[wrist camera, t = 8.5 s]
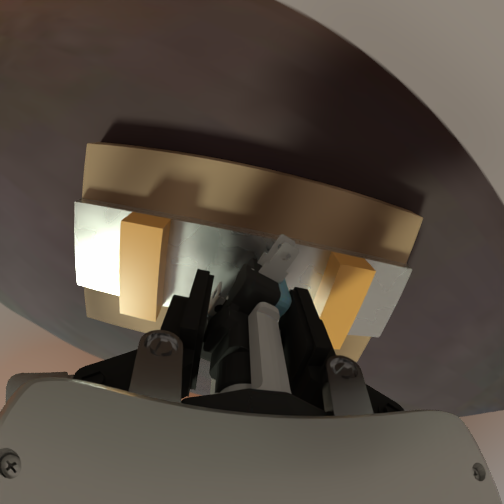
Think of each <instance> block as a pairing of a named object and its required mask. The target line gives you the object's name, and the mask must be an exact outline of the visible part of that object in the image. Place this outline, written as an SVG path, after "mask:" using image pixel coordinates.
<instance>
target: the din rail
mask: <svg viewBox="0 0 504 504" xmlns="http://www.w3.org/2000/svg"><path fill="white" fill-rule="evenodd" d="M132 212H136V213H142V214H147V215H153V216H158V217H163V218H169V219H171V224H170V232H169V240H168V248H167V258H166V268H165V278H164V290H163V304H162V306H165V307H169V305H170V302H171V300H172V297H173V295H179V296H184V297H189V295H190V291H191V288H192V285H193V282H194V278H195V275H196V272H197V269H201V270H206V271H210V275H214V281H213V286H212V292H211V295H212V293H213V292H214V290H215V288H216V287H217V285H218V284H219V282H222V289H221V294H220V296H221V297H223V298H225V296H226V295H227V293H228V292H229V290H230V289H231V287H232V286H233V284H234V282H235V279H236V276H237V274H238V272H239V271H240V269H241V268H242V266H243V265H244V264H245V263H248V262H249V260H250V259H251V258H255V259H256V260H258V261H259V259H260V258H261V256H262V255H263V253H264V252H266V253H268V252H269V250H270V249H271V247H272V246H273V244H274V243H275V241H276V240H277V239H278V237H279V236H280V235H276V234H271V233H266V232H261V231H257V230H252V229H247V228H242V227H237V226H232V225H227V224H222V223H217V222H212V221H206V220H201V219H196V218H191V217H186V216H180V215H175V214H170V213H164V212H159V211H153V210H148V209H142V208H137V207H131V206H125V205H120V204H114V203H108V202H102V201H96V200H90V199H84V198H82V199H79V200H77V201H75V219H74V230H75V261H76V275H77V284H78V285H81V286H85V287H88V288H92V289H95V290H99V291H103V292H107V293H110V294H114V295H118V296H119V245H120V225H121V220H122V219H124V218H125V217H126V216H128V215H129V214H130V213H132ZM289 238H290V237H289ZM291 239H292V240H294V241H295V245H294V247H296V248H298V249H299V254H298V255H297V257H296V258H295V259H294V261H293V262H292V264H291V265H290V266H289V268H288V269H287V270H286V272H288V275H287V276H286V278H285V280H286V283H287V287H288V290H290V289H292V290H293V289H294V288H295V287H299V288H305V289H308V291H309V293H310V295H311V298H312V300H313V301H314V299H315V296H316V293H317V291H318V288H319V285H320V283H321V280H322V277H323V274H324V271H325V269H326V266H327V263H328V260H329V257H330V254H331V251H332V252H337V253H341V254H346V255H350V256H355V257H359V258H364V259H365V260H366V261H367V262H368V263H369V264H370V265H371V266H372V267H373V268H374V269H375V271H376V273H375V275H374V278H373V280H372V282H371V285H370V287H369V289H368V292H367V294H366V296H365V298H364V301H363V303H362V305H361V307H360V309H359V312H358V314H357V316H356V318H355V320H354V322H353V324H352V326H351V328H350V330H349V332H348V334H347V335H356V336H369V337H380V335H381V333H382V331H383V329H384V327H385V325H386V324H387V322H388V320H389V318H390V316H391V314H392V312H393V310H394V308H395V306H396V304H397V302H398V300H399V298H400V296H401V294H402V291H403V289H404V287H405V285H406V283H407V280H408V278H409V276H410V274H411V271H412V269H411V268H410V267H409V266H408V265H407V264H405V263H401V262H397V261H392V260H388V259H384V258H380V257H375V256H371V255H367V254H362V253H358V252H354V251H349V250H345V249H340V248H336V247H331V246H327V245H322V244H318V243H313V242H309V241H304V240H299V239H295V238H291ZM281 245H282V243H281V244H279V245H278V249H279V248H280V246H281ZM290 256H291V255H290V253H289V254H288V255H287V257H286V258H285V260H287V259H289V258H290ZM216 293H217V292H216ZM215 295H216V294H215ZM214 297H215V296H214ZM208 311H209V310H208ZM278 322H279V320H278Z"/></svg>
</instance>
